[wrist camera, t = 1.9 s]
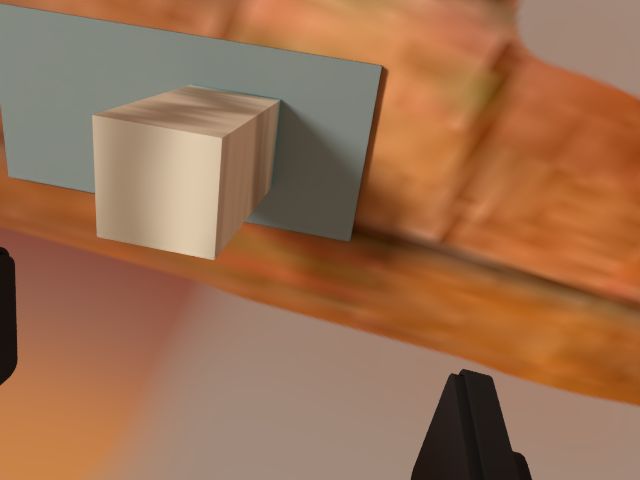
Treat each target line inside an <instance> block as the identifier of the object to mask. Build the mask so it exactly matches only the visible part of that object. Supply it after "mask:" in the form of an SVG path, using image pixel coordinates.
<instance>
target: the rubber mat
mask: <svg viewBox="0 0 640 480" xmlns="http://www.w3.org/2000/svg"><path fill="white" fill-rule="evenodd" d="M381 69H382V65H376V64H370V63H364V62H357V61H351V60H345V59H339V58H333V57H327V56H321V55H315V54H308V53H302V52H296V51H290V50H284V49H278V48H272V47H266V46H259V45H253V44H247V43H241V42H235V41H229V40H223V39H216V38H210V37H204V36H198V35H192V34H186V33H180V32H174V31H167V30H161V29H155V28H149V27H143V26H137V25H131V24H125V23H118V22H112V21H106V20H100V19H94V18H88V17H82V16H75V15H69V14H63V13H57V12H51V11H45V10H39V9H33V8H26V7H20V6H14V5H8V4H2V3H0V103H1V112H2V121H3V130H4V139H5V148H6V157H7V166H8V175H9V177H13V178H18V179H24V180H29V181H34V182H39V183H45V184H50V185H55V186H60V187H65V188H71V189H76V190H81V191H86V192H92V193H95V172H94V147H93V123H92V115H94V114H97V113H100V112H103V111H107V110H110V109H113V108H116V107H120V106H123V105H126V104H130V103H133V102H136V101H139V100H143V99H146V98H149V97H152V96H156V95H159V94H162V93H165V92H169V91H172V90H175V89H179V88H182V87H185V86H188V85H192V84H194V85H200V86H206V87H212V88H218V89H224V90H230V91H235V92H241V93H247V94H253V95H259V96H265V97H270V98H276V99H281V109H280V118H279V127H278V136H277V145H276V155H275V164H274V173H273V182H272V187H271V189H270V190H269V191H268V193H267V194H266V195H265V196H264V198H263V199H262V200H261V201H260V203H259V204H258V205H257V207H256V208H255V209H254V210H253V212H252V213H251V214H250V215H249V217H248V218H247V219H246V221H245V222H248V223H254V224H259V225H264V226H269V227H275V228H280V229H285V230H290V231H295V232H301V233H306V234H311V235H316V236H322V237H327V238H332V239H337V240H342V241H348V242H350V239H351V234H352V228H353V223H354V217H355V212H356V206H357V201H358V195H359V190H360V184H361V179H362V173H363V168H364V162H365V157H366V151H367V146H368V140H369V135H370V129H371V124H372V118H373V113H374V107H375V102H376V96H377V91H378V85H379V80H380V74H381Z"/></svg>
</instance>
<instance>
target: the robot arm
mask: <svg viewBox="0 0 640 480" xmlns="http://www.w3.org/2000/svg"><path fill="white" fill-rule="evenodd" d="M16 365H17V324H16V287H15V263H14V260H13V258H11V257H9V253H8V251H7V250H6V249H5V248H2V247H0V385H1V384H2V383H3V382H5V381H6V380H7V379H8V378H9V377H10V376H11V375H12V373H13V372H14V370H15V368H16ZM411 480H532V478H531V475H530V471H529V468H528V464H527V462H526V460H525V457H524V456H523V455H522V454H521V453H517V452H514V451H512V448H511V444H510V441H509V437H508V433H507V430H506V426H505V422H504V419H503V415H502V411H501V408H500V404H499V400H498V397H497V393H496V389H495V385H494V382H493V379H492V377H491V376H489V375H485V374H481V373H477V372H473V371H469V370H465V369H463V370H461V371H460V373H459V375H456V374H453V373H452V374H450V376H449V377H448V380H447V382H446V385H445V387H444V390H443V393H442V395H441V398H440V400H439V403H438V406H437V408H436V411H435V413H434V416H433V419H432V421H431V424H430V427H429V429H428V432H427V434H426V437H425V440H424V442H423V445H422V447H421V450H420V453H419V455H418V458H417V460H416V463H415V466H414V468H413V472H412V476H411Z"/></svg>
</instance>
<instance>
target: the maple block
mask: <svg viewBox="0 0 640 480" xmlns="http://www.w3.org/2000/svg"><path fill="white" fill-rule="evenodd" d="M280 109H281V99H276V98H270V97H265V96H259V95H253V94H247V93H241V92H235V91H230V90H224V89H218V88H212V87H206V86H200V85H194V84H192V85H188V86H185V87H182V88H179V89H175V90H172V91H169V92H165V93H162V94H159V95H156V96H152V97H149V98H146V99H143V100H139V101H136V102H133V103H130V104H126V105H123V106H120V107H116V108H113V109H110V110H107V111H103V112H100V113H97V114H94V115H92V123H93V147H94V172H95V197H96V222H97V237H101V238H106V239H111V240H116V241H121V242H126V243H131V244H136V245H141V246H146V247H151V248H156V249H161V250H166V251H171V252H176V253H181V254H186V255H191V256H196V257H201V258H206V259H211V260H215V259H216V257H217V256H218V255H219V254H220V252H221V251H222V250H223V248H224V247H225V246H226V245H227V243H228V242H229V241H230V240H231V238H232V237H233V236H234V234H235V233H236V232H237V231H238V229H239V228H240V227H241V226H242V224H243V223H244V222H245V221H246V219H247V218H248V217H249V215H250V214H251V213H252V212H253V210H254V209H255V208H256V207H257V205H258V204H259V203H260V201H261V200H262V199H263V198H264V196H265V195H266V194H267V193H268V191H269V190H270V189H271V187H272V182H273V173H274V164H275V155H276V145H277V136H278V127H279V118H280Z"/></svg>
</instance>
